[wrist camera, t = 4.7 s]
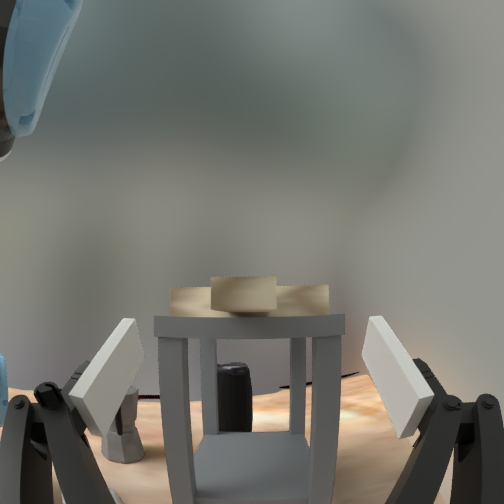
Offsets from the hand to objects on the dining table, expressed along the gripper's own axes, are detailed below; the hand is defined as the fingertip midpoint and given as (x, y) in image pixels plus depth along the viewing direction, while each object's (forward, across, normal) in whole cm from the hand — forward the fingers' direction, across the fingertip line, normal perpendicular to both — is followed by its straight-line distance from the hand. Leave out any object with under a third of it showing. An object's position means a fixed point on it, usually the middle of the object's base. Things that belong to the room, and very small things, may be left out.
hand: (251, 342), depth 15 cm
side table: (+5, -1, -36) cm, 37 cm away
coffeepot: (+14, -27, -42) cm, 52 cm away
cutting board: (+16, -1, -8) cm, 17 cm away
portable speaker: (+26, -6, -48) cm, 55 cm away
